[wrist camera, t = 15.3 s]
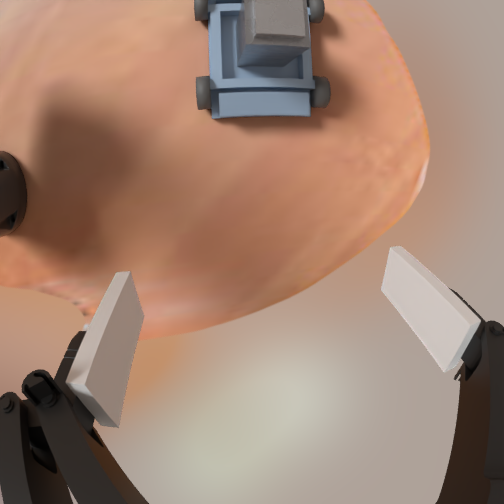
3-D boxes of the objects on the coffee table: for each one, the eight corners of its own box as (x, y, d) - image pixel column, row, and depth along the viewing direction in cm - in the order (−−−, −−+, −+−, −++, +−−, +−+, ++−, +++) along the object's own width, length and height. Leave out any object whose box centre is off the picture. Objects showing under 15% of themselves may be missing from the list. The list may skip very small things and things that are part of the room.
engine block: (237, 66, 29) (247, 40, 18) (235, 27, 26) (245, -12, 15) (283, 67, 29) (314, 44, 19) (281, 28, 27) (309, -6, 16)
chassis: (200, 119, 33) (197, 119, 29) (196, -6, 24) (194, -20, 20) (318, 117, 34) (330, 117, 30) (311, -4, 25) (321, -15, 21)
